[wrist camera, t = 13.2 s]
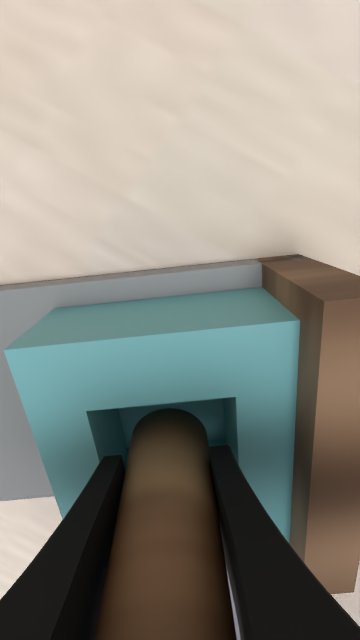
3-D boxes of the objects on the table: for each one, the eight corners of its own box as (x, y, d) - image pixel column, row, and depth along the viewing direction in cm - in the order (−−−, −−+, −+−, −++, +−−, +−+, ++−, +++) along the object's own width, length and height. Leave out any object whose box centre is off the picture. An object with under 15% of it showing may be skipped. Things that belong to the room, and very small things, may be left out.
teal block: (262, 464, 16) (289, 542, 12) (99, 479, 16) (77, 560, 12) (262, 287, 12) (300, 320, 9) (54, 308, 13) (3, 350, 9)
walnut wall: (290, 457, 17) (353, 592, 11) (256, 460, 18) (301, 596, 11) (298, 254, 13) (407, 293, 7) (254, 258, 13) (324, 301, 7)
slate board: (290, 457, 17) (298, 474, 16) (-102, 493, 18) (-121, 511, 17) (298, 254, 13) (310, 258, 12) (-216, 308, 14) (-250, 316, 13)
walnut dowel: (206, 467, 12) (243, 764, 6) (134, 468, 12) (87, 770, 6) (208, 407, 11) (256, 688, 5) (129, 408, 11) (64, 695, 5)
